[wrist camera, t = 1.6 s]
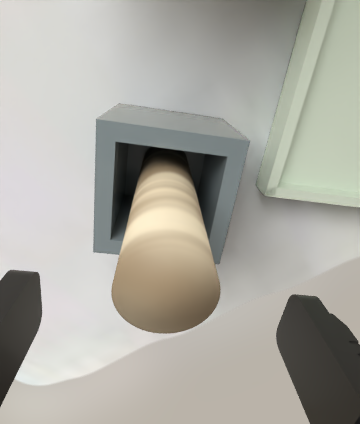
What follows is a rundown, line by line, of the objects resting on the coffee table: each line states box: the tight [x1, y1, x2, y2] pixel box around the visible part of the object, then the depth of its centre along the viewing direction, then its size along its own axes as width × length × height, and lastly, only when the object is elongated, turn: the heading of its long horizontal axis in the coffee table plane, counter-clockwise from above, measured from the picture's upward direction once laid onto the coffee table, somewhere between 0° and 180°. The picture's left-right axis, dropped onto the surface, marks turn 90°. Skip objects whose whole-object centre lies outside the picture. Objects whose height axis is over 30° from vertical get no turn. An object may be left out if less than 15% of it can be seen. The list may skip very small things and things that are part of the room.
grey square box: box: [93, 103, 250, 264], centre depth 20 cm, size 8×8×8 cm
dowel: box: [112, 146, 220, 333], centre depth 16 cm, size 4×4×15 cm
